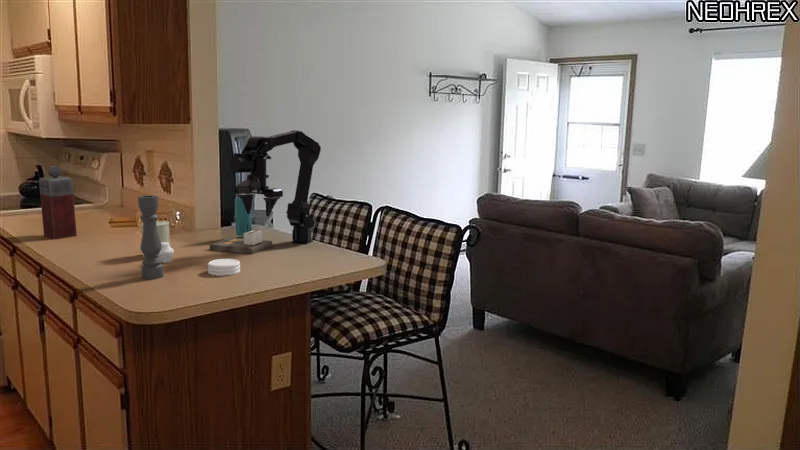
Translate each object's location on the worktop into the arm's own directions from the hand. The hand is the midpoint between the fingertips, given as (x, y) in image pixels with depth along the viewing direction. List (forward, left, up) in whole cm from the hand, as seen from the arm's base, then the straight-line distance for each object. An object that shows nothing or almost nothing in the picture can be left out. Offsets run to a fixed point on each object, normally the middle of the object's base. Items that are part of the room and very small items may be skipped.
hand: (258, 215), depth 234 cm
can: (+30, +19, -14) cm, 38 cm away
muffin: (+21, +26, -14) cm, 36 cm away
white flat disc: (-5, +30, -14) cm, 33 cm away
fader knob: (+4, -2, -11) cm, 12 cm away
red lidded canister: (+88, +6, -14) cm, 89 cm away
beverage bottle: (+18, -18, -14) cm, 29 cm away
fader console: (+9, -2, -13) cm, 16 cm away
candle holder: (+12, +43, -14) cm, 46 cm away
